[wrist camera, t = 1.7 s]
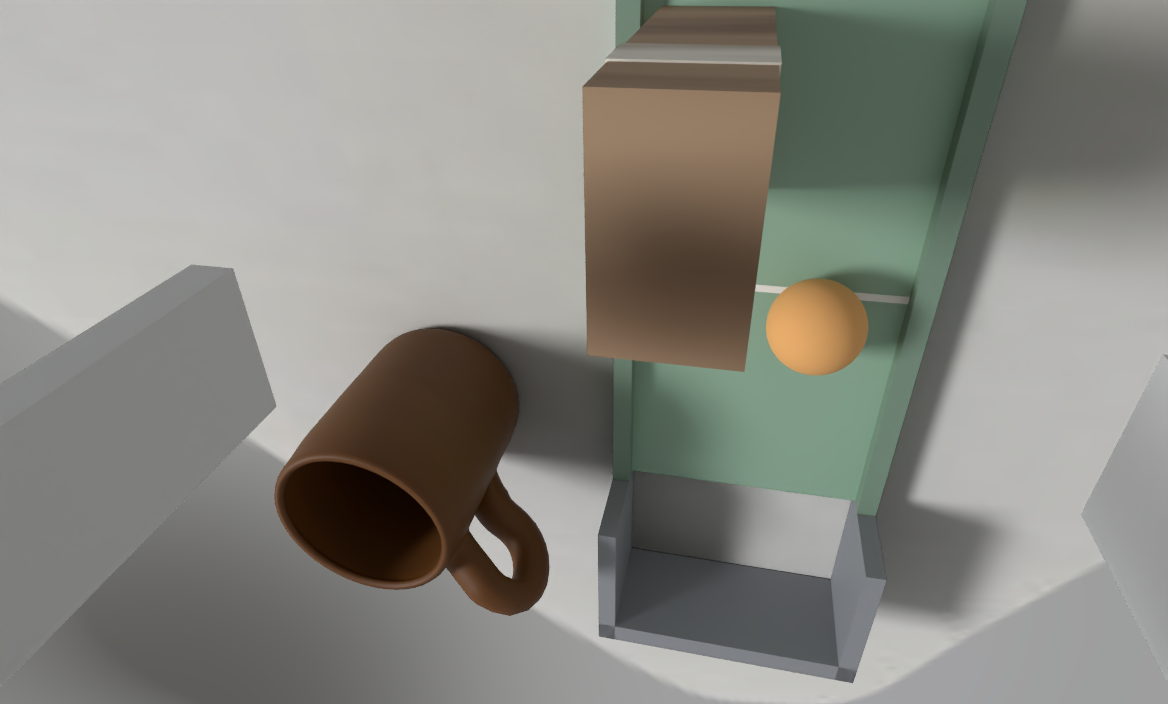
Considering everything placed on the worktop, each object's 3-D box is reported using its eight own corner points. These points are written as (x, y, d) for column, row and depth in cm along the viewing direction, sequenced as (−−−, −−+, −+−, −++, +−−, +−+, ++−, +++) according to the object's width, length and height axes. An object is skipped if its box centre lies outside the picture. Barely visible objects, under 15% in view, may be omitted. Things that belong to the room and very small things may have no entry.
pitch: (623, -14, 23) (592, 5, 19) (1015, -13, 21) (1075, 9, 17) (616, 558, 39) (598, 636, 35) (843, 594, 36) (852, 682, 32)
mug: (624, 442, 34) (582, 601, 26) (538, 515, 38) (480, 671, 31) (423, 291, 32) (313, 416, 24) (354, 386, 36) (242, 518, 28)
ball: (772, 258, 27) (772, 303, 24) (871, 266, 26) (884, 313, 23) (760, 338, 29) (760, 388, 26) (852, 347, 28) (862, 400, 25)
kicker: (660, 4, 23) (579, 83, 13) (777, 5, 22) (784, 89, 12) (653, 184, 26) (585, 356, 16) (754, 190, 25) (746, 374, 16)
